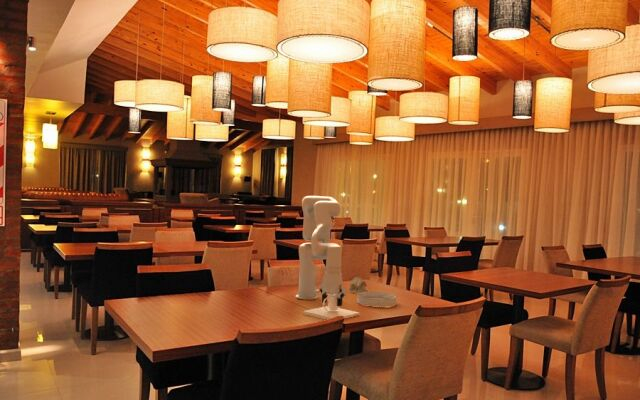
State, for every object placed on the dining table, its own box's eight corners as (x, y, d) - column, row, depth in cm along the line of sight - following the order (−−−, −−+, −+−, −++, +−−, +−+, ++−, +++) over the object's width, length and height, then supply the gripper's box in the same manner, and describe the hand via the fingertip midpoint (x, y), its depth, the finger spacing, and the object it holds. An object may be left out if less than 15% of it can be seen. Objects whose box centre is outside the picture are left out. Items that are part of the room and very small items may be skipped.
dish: (373, 298, 310) (374, 290, 310) (404, 305, 294) (404, 296, 294) (348, 302, 294) (349, 294, 294) (379, 310, 278) (380, 300, 278)
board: (328, 308, 275) (328, 305, 275) (359, 315, 262) (359, 312, 262) (303, 314, 260) (303, 311, 260) (334, 321, 247) (334, 318, 247)
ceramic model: (344, 291, 328) (345, 275, 328) (358, 290, 335) (359, 274, 335) (358, 295, 317) (358, 278, 317) (372, 294, 323) (373, 277, 323)
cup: (343, 312, 262) (343, 296, 262) (327, 314, 256) (327, 297, 256) (334, 309, 267) (335, 293, 267) (318, 311, 261) (319, 294, 261)
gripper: (315, 268, 263) (313, 302, 264) (342, 273, 252) (340, 308, 253) (324, 267, 269) (323, 300, 269) (351, 271, 258) (350, 306, 258)
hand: (331, 304), depth 261 cm, fingers open, 9 cm apart
